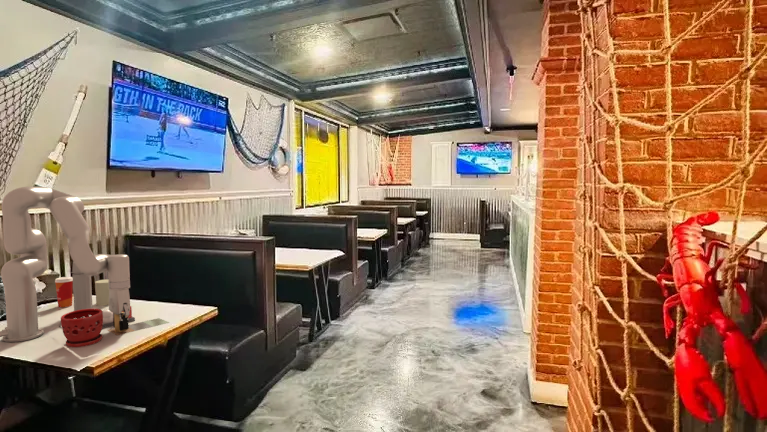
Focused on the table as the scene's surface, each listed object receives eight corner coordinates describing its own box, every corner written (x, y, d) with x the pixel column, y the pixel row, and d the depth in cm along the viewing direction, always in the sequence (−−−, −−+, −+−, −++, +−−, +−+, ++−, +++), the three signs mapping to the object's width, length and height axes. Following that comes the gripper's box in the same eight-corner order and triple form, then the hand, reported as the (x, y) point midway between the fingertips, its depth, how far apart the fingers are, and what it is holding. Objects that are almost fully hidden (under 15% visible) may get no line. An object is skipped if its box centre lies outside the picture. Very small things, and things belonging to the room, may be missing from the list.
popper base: (99, 330, 183) (98, 313, 182) (92, 326, 188) (91, 310, 187) (134, 322, 194) (134, 306, 193) (127, 318, 198) (127, 303, 198)
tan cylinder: (117, 332, 178) (116, 315, 177) (113, 330, 181) (112, 313, 180) (129, 330, 181) (128, 313, 181) (124, 327, 184) (124, 311, 184)
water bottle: (92, 315, 203) (90, 262, 201) (71, 317, 199) (69, 263, 198) (95, 310, 211) (93, 259, 209) (75, 312, 208) (73, 260, 206)
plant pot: (71, 339, 172) (70, 309, 171) (109, 336, 175) (108, 307, 174) (55, 351, 159) (53, 319, 159) (95, 348, 162) (94, 316, 162)
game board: (116, 336, 175) (116, 335, 175) (107, 331, 181) (106, 329, 181) (169, 323, 192) (169, 322, 191) (159, 319, 198) (159, 318, 198)
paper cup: (59, 304, 221) (58, 277, 220) (77, 303, 224) (75, 276, 223) (52, 308, 214) (51, 280, 213) (71, 307, 216) (70, 279, 215)
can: (121, 301, 227) (120, 278, 227) (105, 306, 218) (104, 282, 218) (107, 300, 230) (106, 277, 229) (91, 304, 221) (90, 281, 220)
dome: (101, 328, 184) (100, 312, 184) (96, 325, 188) (95, 309, 187) (116, 324, 189) (115, 309, 188) (110, 322, 192) (110, 307, 192)
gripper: (101, 283, 182) (102, 326, 183) (117, 289, 171) (119, 335, 173) (120, 280, 188) (122, 321, 189) (138, 286, 177) (139, 330, 178)
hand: (121, 327), depth 181 cm, fingers open, 5 cm apart
